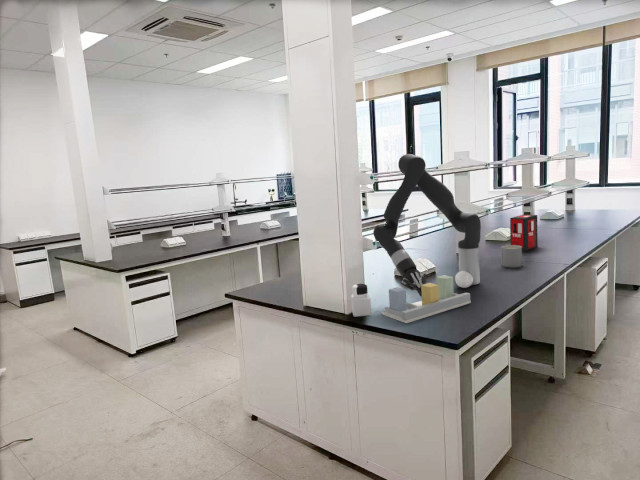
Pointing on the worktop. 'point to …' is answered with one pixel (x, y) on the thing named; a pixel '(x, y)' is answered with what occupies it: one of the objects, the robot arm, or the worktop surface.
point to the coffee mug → (511, 256)
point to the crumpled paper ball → (463, 279)
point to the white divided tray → (427, 308)
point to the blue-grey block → (397, 299)
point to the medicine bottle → (360, 300)
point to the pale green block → (445, 286)
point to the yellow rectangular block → (429, 293)
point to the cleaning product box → (524, 231)
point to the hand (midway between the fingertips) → (424, 296)
